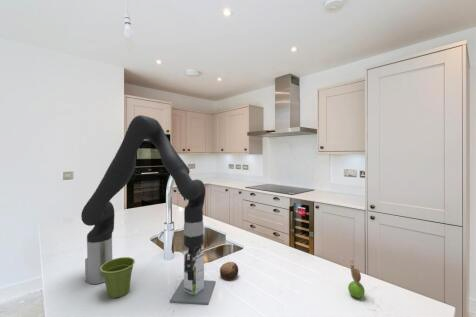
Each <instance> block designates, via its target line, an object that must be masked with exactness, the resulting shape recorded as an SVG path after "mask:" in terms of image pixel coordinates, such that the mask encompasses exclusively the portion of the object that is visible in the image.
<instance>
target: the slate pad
mask: <svg viewBox="0 0 476 317" xmlns="http://www.w3.org/2000/svg"><path fill="white" fill-rule="evenodd" d="M216 284H217V283H216V280H207V279H206V280H205V279H204V289H202V290H201V291H200V292H198V293H197V294H196V295H192V294H190V293H188V292H186V291H184V278H183V279H182V280H181V282H179V285H178V286H177V287H176V289H175V290H174V293H173V294H172V296H171V298H170V300H169V303H171V304H185V305H186V304H187V305H202V306H203V305H205V306H208V305H209V303H210V300H211V297H212V294H213V292H214V289H215V285H216Z"/></svg>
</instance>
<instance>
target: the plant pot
mask: <svg viewBox="0 0 476 317" xmlns="http://www.w3.org/2000/svg"><path fill="white" fill-rule="evenodd" d="M135 263H136V261H135V259H134V258H133V257H129V256H127V257H126V256H123V257H117V258H112V260H110V261H108V262H106V263H104V264H103V265H102V266H101V267H100V270H101V271H102V273H103V276H104V279H105V282H104V283H105V287H106V291H107V295H108V297H109V298H111V299H116V298H119V297H125V295H126V294H128V293H129V291H130V286H131V280H132V273H133V269H134V264H135Z"/></svg>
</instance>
